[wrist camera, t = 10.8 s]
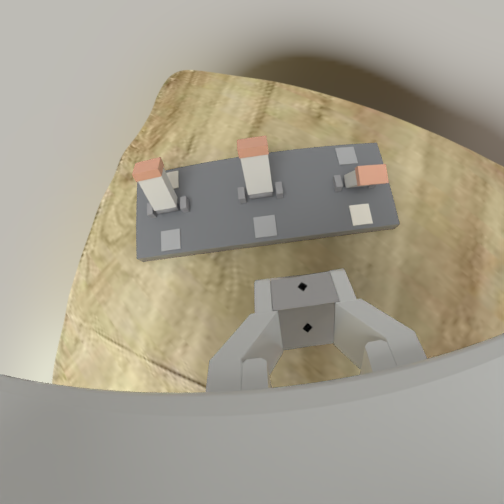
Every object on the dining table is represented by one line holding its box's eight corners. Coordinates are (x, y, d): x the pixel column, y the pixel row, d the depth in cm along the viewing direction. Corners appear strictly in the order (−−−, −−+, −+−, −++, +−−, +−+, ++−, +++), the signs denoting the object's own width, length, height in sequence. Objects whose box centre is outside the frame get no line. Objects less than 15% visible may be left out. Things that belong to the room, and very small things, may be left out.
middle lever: (274, 199, 37) (267, 145, 31) (248, 203, 37) (237, 149, 31) (273, 189, 38) (265, 135, 32) (248, 192, 39) (237, 139, 32)
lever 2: (366, 188, 37) (388, 182, 29) (343, 190, 37) (360, 185, 29) (364, 172, 37) (385, 164, 29) (340, 174, 37) (357, 166, 29)
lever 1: (180, 214, 38) (157, 168, 32) (157, 218, 38) (132, 174, 32) (181, 202, 39) (160, 157, 33) (158, 206, 40) (135, 163, 33)
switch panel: (394, 228, 38) (403, 220, 34) (143, 261, 40) (131, 256, 37) (373, 150, 40) (379, 137, 37) (143, 182, 43) (133, 172, 40)
